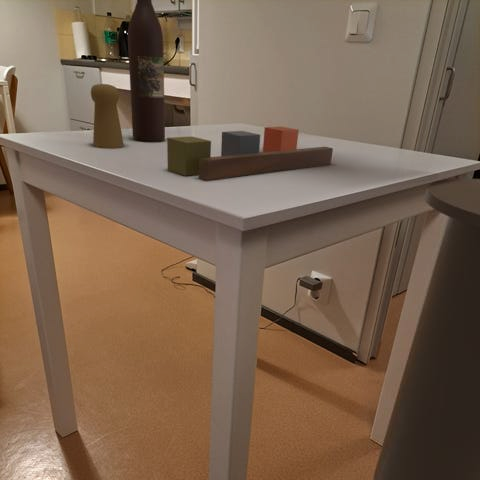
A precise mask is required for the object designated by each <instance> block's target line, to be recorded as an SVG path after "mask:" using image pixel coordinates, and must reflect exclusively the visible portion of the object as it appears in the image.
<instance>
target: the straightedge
mask: <svg viewBox="0 0 480 480" xmlns="http://www.w3.org/2000/svg"><path fill="white" fill-rule="evenodd" d="M333 151H334V148H333V147H329V146H317V147H305V148H297V149H294V150H283V151H272V152H263V151H262V152H259V153H250V154H239V155H228V156H221V155H219V156H211V157H207V158H199V174H198V179H200V180H204V181H206V182H207V181H213V180H214V181H215V180H221V179H229V178H236V177H237V178H238V177H244V176H253V175H259V174H266V173H267V174H269V173H275V172H283V171H291V170H299V169H305V168H312V167H321V166H327V165H329V166H330V165H331V164H332V159H333V158H332V156H333Z"/></svg>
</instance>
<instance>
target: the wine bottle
mask: <svg viewBox="0 0 480 480" xmlns="http://www.w3.org/2000/svg"><path fill="white" fill-rule="evenodd" d="M152 2H153V1H152V0H136V3H135V6H134V10H133V12H132V14H131V17H130V19H129V23H128V27H127V28H128V29H127V48H128V49H127V51H128V70H129V86H130V87H129V89H130V107H131V108H130V109H131V110H130V111H131V126H132V128H131V129H132V130H131V131H132V138H133V140H136V141H139V142H148V143H156V142H157V143H158V142H163V141H165V137H166V121H165V120H166V119H165V118H166V117H165V115H166V114H165V112H166V111H165V66H164V65H165V63H164V34H163V28H162V25H161V22H160V20H159V18H158V15H157V13H156V10H155V8H154V5H153V3H152Z"/></svg>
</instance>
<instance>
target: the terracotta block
mask: <svg viewBox="0 0 480 480" xmlns="http://www.w3.org/2000/svg"><path fill="white" fill-rule="evenodd" d="M263 132H264V133H263V142H262V143H263V144H262V152H272V151H283V150H294V149H298V139H299V129H297V128H292V127H286V126H265V127H264V131H263Z"/></svg>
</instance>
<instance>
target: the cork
mask: <svg viewBox="0 0 480 480" xmlns="http://www.w3.org/2000/svg"><path fill="white" fill-rule="evenodd" d="M90 97H91V100H92V101H93V103H94V110H93V111H94V112H93V113H94V114H93V138H92V144H93V145H92V146H94V147H95V148H96V147H97V148H102V149H120V148H124V147H125V143H124V137H123V132H122V127H121V122H120V118H119V117H120V116H119V111H118V105H117V104H118V102H119V101H120V100H119V99H120V94H119V90H118V89H117V87H116V86H114V85H113V84H109V83H108V84H107V83H97V84H93V85H92V87H91V88H90Z"/></svg>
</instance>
